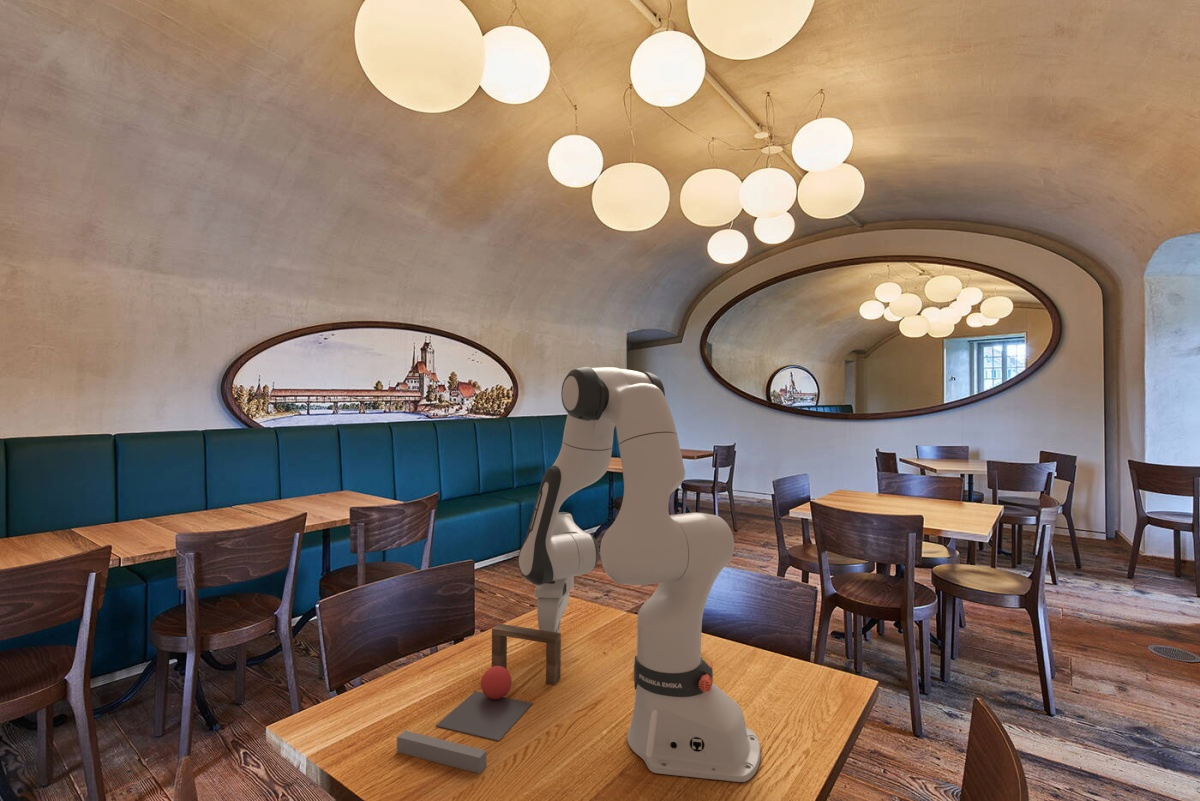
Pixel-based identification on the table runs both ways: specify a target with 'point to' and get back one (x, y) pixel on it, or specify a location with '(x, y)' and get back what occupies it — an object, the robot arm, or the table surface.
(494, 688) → the ball
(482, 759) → the wall
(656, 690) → the robot arm
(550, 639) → the bridge
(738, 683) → the table surface
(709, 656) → the table surface
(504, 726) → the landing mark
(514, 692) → the table surface
